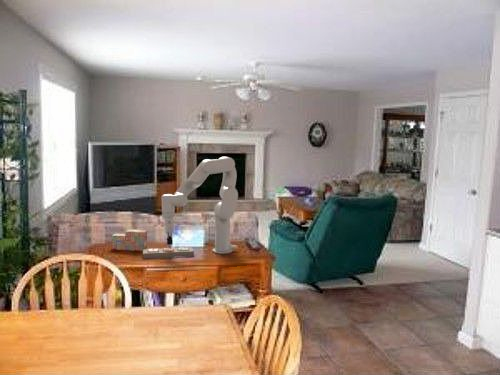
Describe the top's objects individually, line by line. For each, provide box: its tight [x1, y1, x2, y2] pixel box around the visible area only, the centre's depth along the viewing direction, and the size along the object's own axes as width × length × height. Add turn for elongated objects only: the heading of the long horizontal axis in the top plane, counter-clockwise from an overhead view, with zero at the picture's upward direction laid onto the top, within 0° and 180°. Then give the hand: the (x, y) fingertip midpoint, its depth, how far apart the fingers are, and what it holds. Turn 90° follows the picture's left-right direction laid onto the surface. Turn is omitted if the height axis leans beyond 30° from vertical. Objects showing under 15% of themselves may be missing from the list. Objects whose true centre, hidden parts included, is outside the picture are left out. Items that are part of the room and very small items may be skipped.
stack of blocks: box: [111, 229, 148, 252], centre depth 283 cm, size 21×6×12 cm, turn 84°
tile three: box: [162, 247, 174, 252], centre depth 270 cm, size 6×6×3 cm
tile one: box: [147, 248, 159, 253], centre depth 268 cm, size 6×6×3 cm
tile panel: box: [142, 246, 195, 259], centre depth 270 cm, size 30×10×3 cm, turn 103°
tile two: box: [177, 246, 188, 251], centre depth 272 cm, size 6×6×3 cm
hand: (169, 244), depth 270 cm, fingers closed
